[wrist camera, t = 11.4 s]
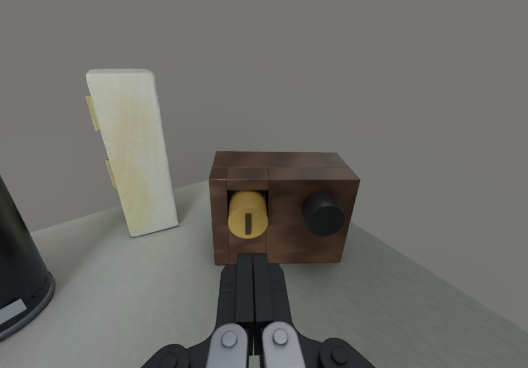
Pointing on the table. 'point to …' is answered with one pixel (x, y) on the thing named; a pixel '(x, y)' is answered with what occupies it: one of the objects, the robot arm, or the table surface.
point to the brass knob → (247, 214)
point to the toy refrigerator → (134, 145)
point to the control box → (285, 204)
